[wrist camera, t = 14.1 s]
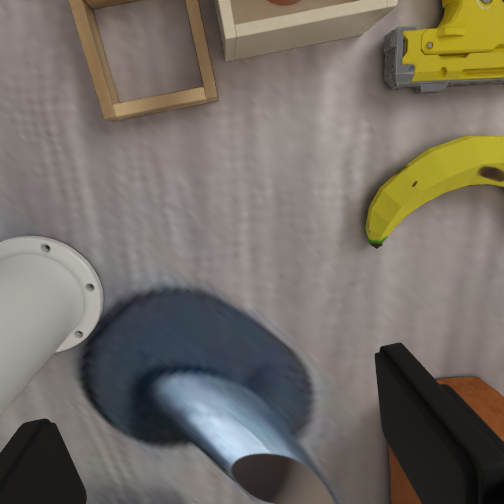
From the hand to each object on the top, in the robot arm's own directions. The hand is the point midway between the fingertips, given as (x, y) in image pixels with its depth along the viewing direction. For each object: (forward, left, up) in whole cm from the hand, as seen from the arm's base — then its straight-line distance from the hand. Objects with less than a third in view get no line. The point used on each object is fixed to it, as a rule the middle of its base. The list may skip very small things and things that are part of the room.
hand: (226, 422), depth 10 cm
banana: (+23, -3, -26) cm, 35 cm away
